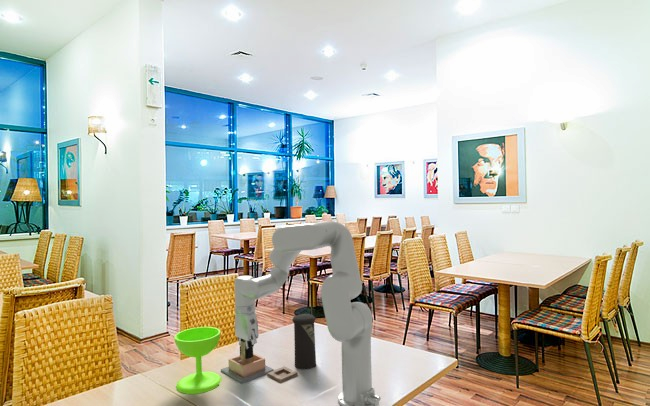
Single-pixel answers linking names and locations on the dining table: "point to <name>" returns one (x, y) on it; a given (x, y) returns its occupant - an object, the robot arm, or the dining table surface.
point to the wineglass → (198, 358)
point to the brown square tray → (282, 374)
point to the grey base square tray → (246, 369)
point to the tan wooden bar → (243, 346)
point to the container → (304, 341)
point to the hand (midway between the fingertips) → (246, 356)
